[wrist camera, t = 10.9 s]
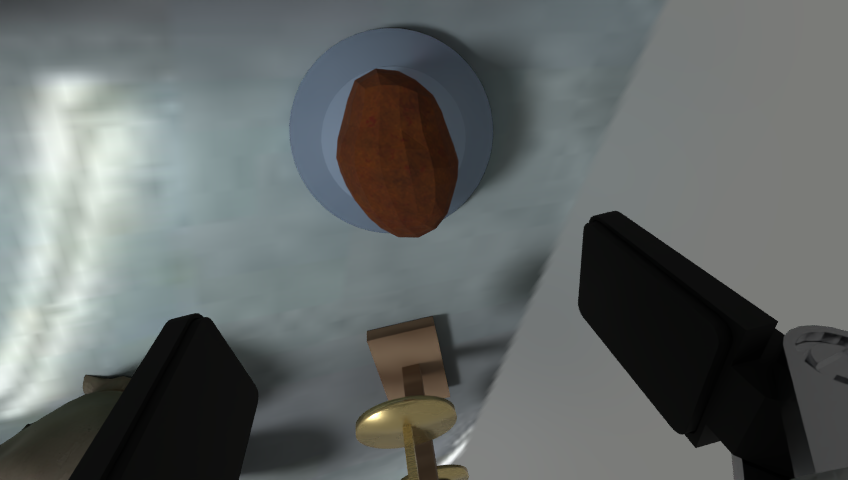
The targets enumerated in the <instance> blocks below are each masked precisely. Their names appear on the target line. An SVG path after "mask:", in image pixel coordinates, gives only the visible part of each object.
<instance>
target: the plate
mask: <svg viewBox="0 0 848 480" xmlns="http://www.w3.org/2000/svg"><path fill="white" fill-rule="evenodd" d="M374 69H386V70H396V71H400V72H402V73H403V74H405V75H407V76H409V77H411V78H413V79H415V80H417V81H418V82H419V83H420V84H421V85H422V86H423V87H425V88H426V89H427V90H428V91H429V92H430V93H432V94H433V95H434V97H435V99H436V101H437V103H438V105H439V107H440V109H441V111H442V113H443V117H444V120H445V122H446V125H447V128H448V131H449V133H450V136H451V139H452V142H453V144H454V147H455V151H456V154H457V157H458V160H459V164H458V178H457V183H456V186H455V190H454V194H453V197H452V201H451V204H450V207H449V211H448V214H447V215H446V216H445V217H444V218H446V217H448V216H449V215H450V214H452V213H453V212H455V211H456V210H457V209H458V208H459V207H460V206H461V205H462V204H464V203H465V201H466V200H467V199H468V198H469V197H470V196H471V194H472V193H473V192H474V190H475V189H476V187H477V186H478V184H479V182H480V181H481V179H482V177H483V175H484V173H485V170H486V167H487V165H488V162H489V158H490V154H491V150H492V141H493V121H492V114H491V109H490V105H489V101H488V98H487V95H486V93H485V90H484V88H483V86H482V84H481V82H480V80H479V79H478V77H477V75H476V74H475V72H474V71H473V70H472V68H471V67H470V66H469V65H468V63H467V62H466V61H465V60H464V59H463V58H462V57H461V56H460V55H459V54H458V53H457V52H456V51H454V50H453V49H451V48H450V47H449V46H447V45H446V44H444V43H443V42H441V41H439V40H437V39H435V38H433V37H431V36H429V35H426V34H423V33H420V32H417V31H412V30H406V29H401V28H382V29H374V30H369V31H365V32H362V33H358V34H355V35H353V36H351V37H348V38H346V39H344V40H342V41H340V42H339V43H337V44H336V45H334V46H333V47H331V48H330V49H328V50H327V51H326V52H325V53H324V54H323V55H322V56H321V57H319V58H318V59H317V60H316V62H315V63H314V64H313V65H312V67H311V68H310V69H309V70H308V72H307V73H306V75H305V77H304V78H303V80H302V82H301V83H300V86H299V88H298V90H297V93H296V95H295V98H294V102H293V106H292V110H291V116H290V125H289V126H290V144H291V150H292V155H293V158H294V161H295V165H296V167H297V170H298V172H299V174H300V176H301V178H302V180H303V182H304V183H305V185H306V187H307V188H308V190H309V191H310V192H311V194H312V195H313V196H314V197H315V199H316V200H317V201H318V202H319V203H320V204H321V205H322V206H323V207H324V208H326V209H327V210H328V211H329V212H331V213H332V214H333V215H335V216H336V217H338V218H340V219H341V220H343V221H345V222H347V223H349V224H351V225H354V226H356V227H359V228H362V229H365V230H369V231H374V232H380V233H389V232H387V231H385V230H383V229H381V228H380V227H379V226H378V225H377V224H376V223H374V222H373V221H372V220H371V219H370V218H369V217H368V216H367V215H366V214H365V212H364V211H363V210H362V209H361V207H360V206H359V205H358V204H357V202H356V201H355V200H354V198H353V197H352V195H351V193H350V191H349V190H348V188H347V186H346V184H345V182H344V180H343V177H342V175H341V173H340V169H339V166H338V162H337V159H336V154H337V140H338V135H339V131H340V127H341V124H342V120H343V116H344V112H345V108H346V104H347V100H348V97H349V94H350V92H351V89H352V86H353V83H354V81H355V80H356V79H358V78H360V77H361V76H363V75H365V74H367V73H369V72H370V71H372V70H374Z"/></svg>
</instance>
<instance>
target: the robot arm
mask: <svg viewBox="0 0 848 480" xmlns="http://www.w3.org/2000/svg"><path fill="white" fill-rule="evenodd" d="M578 306H579V310H580V312H581V315H582V316H583V318H584V319H585V320H586V321H587V323H588V324H589V325H590V326H591V328H592V329H593V330H594V331H595V332H596V334H597V335H598V336H599V337H600V339H601V340H602V341H603V343H604V344H605V345H606V346H607V348H608V349H609V350H610V351H611V353H612V354H613V355H614V356H615V358H616V359H617V360H618V361H619V363H620V364H621V365H622V366H623V368H624V369H625V370H626V371H627V372H628V374H629V375H630V376H631V378H632V379H633V380H634V381H635V383H636V384H637V385H638V386H639V388H640V389H641V390H642V391H643V392H644V393H645V395H646V396H647V398H648V399H649V400H650V401H651V403H652V404H653V405H654V406H655V407H656V409H657V410H658V411H659V412H660V414H661V415H662V416H663V418H664V419H665V420H666V421H667V423H668V424H669V425H670V426H671V427H672V428H673V430H675V431H676V432H677V433H679V434H685V436H686V437H687V438H688V439H689V441H690V442H691V443H692V444H693V445H694V446H695V448H697V447H701V446H704V445H708V444H711V443H715V442H718V441H721V442H722V443H723V444H724V445H725V446H726V447H727V449H728V450H729V451H730V452H731V454H732V465H733V475H734V480H848V331H844V330H840V329H836V328H833V327H826V326H817V325H816V326H815V325H811V326H799V327H796V328H794V329H791V330H789V331H788V332H787V333H786V335H783V334H782V333H781V332H779V331H778V330H777V329H775V327H776V325H777V323H778V321H777V320H775V319H774V318H772V317H771V316H769V315H768V314H766V313H765V312H764V311H762V310H761V309H759V308H758V307H756V306H755V305H753V304H752V303H750V302H749V301H747V300H746V299H745V298H743V297H741V296H740V295H739V294H738V293H736V292H735V291H733V290H732V289H730V288H729V287H727V286H726V285H724V284H723V283H722V282H720V281H719V280H717V279H716V278H714V277H713V276H711V275H710V274H708V273H707V272H706V271H704V270H703V269H701V268H700V267H698V266H697V265H695V264H694V263H693V262H691V261H690V260H688V259H687V258H685V257H684V256H682V255H681V254H680V253H678V252H676V251H675V250H674V249H672V248H671V247H669V246H668V245H666V244H665V243H664V242H662V241H661V240H659V239H658V238H656V237H655V236H653V235H652V234H651V233H649V232H648V231H646V230H645V229H643V228H642V227H640V226H639V225H638V224H636V223H635V222H633V221H632V220H630V219H629V218H627V217H626V216H624V215H623V214H622V213H620V212H618V211H612V212H607V213H603V214H599V215H595V216H593V217H591V219H590V220H589V223H587V224H586V225H585V226H584V231H583V245H582V258H581V272H580V286H579V297H578ZM257 404H258V390H257V387H256V385H255V384H254V382H253V381H252V379H251V378H250V376H249V375H248V374H247V372H246V371H245V369H244V368H243V366H242V365H241V363H240V362H239V360H238V359H237V357H236V356H235V354H234V353H233V351H232V350H231V348H230V347H229V345H228V344H227V342H226V341H225V339H224V338H223V336H222V335H221V333H220V332H219V330H218V329H217V327H216V326H215V324H214V323H213V321H212V320H211V319H210V318H208V317H203V316H202V315H200V314H198V313H194V314H190V315H186V316H182V317H178V318H174V319H171V320H169V321H168V322H167V323H166V324H165V326H164V327H163V329H162V330H161V332H160V334H159V335H158V337H157V338H156V340H155V342H154V343H153V345H152V346H151V348H150V350H149V351H148V353H147V354H146V356H145V358H144V359H143V361H142V362H141V364H140V366H139V367H138V369H137V370H136V372H135V374H134V375H133V377H132V378H131V380H130V382H129V383H128V385H127V386H126V388H125V390H124V391H123V393H122V394H121V396H120V398H119V399H118V401H117V402H116V404H115V406H114V407H113V409H112V410H111V412H110V414H109V415H108V417H107V418H106V420H105V422H104V423H103V425H102V426H101V428H100V430H99V431H98V433H97V434H96V436H95V438H94V439H93V441H92V442H91V444H90V446H89V447H88V449H87V450H86V452H85V454H84V455H83V457H82V458H81V460H80V462H79V463H78V465H77V466H76V468H75V470H74V471H73V473H72V474H71V476H70V478H69V479H68V480H239V476H240V472H241V468H242V464H243V460H244V456H245V452H246V448H247V444H248V440H249V436H250V432H251V428H252V424H253V420H254V416H255V412H256V408H257Z"/></svg>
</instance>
